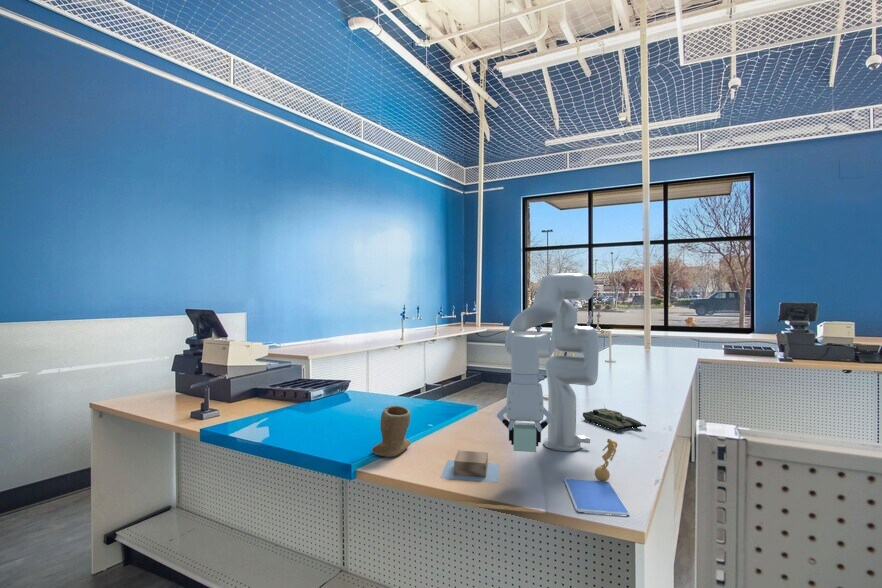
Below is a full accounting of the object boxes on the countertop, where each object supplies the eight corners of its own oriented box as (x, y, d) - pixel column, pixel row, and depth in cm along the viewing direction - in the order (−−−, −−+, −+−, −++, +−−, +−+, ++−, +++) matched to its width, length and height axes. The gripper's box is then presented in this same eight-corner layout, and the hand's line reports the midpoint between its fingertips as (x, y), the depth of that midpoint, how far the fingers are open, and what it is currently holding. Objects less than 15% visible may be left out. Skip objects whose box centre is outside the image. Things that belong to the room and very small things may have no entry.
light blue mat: (499, 466, 132) (499, 463, 132) (497, 485, 118) (497, 482, 118) (447, 462, 134) (447, 459, 134) (440, 480, 121) (440, 477, 121)
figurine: (591, 474, 126) (591, 433, 127) (612, 476, 126) (613, 434, 126) (598, 486, 118) (598, 442, 118) (621, 488, 117) (621, 443, 118)
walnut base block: (487, 465, 130) (487, 452, 130) (485, 477, 121) (485, 463, 121) (458, 463, 131) (458, 450, 132) (453, 475, 123) (454, 460, 123)
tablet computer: (563, 482, 122) (563, 477, 122) (609, 485, 121) (610, 480, 121) (576, 515, 103) (576, 509, 103) (631, 519, 101) (631, 513, 101)
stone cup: (399, 462, 134) (400, 413, 135) (366, 456, 139) (367, 409, 139) (420, 447, 148) (420, 403, 149) (389, 442, 153) (390, 400, 153)
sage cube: (535, 444, 122) (535, 423, 122) (536, 452, 116) (536, 430, 116) (513, 443, 123) (513, 422, 123) (513, 450, 117) (513, 428, 117)
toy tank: (605, 417, 193) (605, 395, 193) (658, 435, 167) (658, 409, 167) (580, 420, 188) (581, 397, 188) (631, 439, 162) (631, 412, 162)
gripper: (555, 377, 122) (555, 441, 122) (494, 375, 125) (493, 437, 125) (558, 382, 114) (558, 450, 114) (493, 380, 117) (492, 446, 117)
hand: (524, 443), depth 119 cm, fingers closed on sage cube, 6 cm apart
